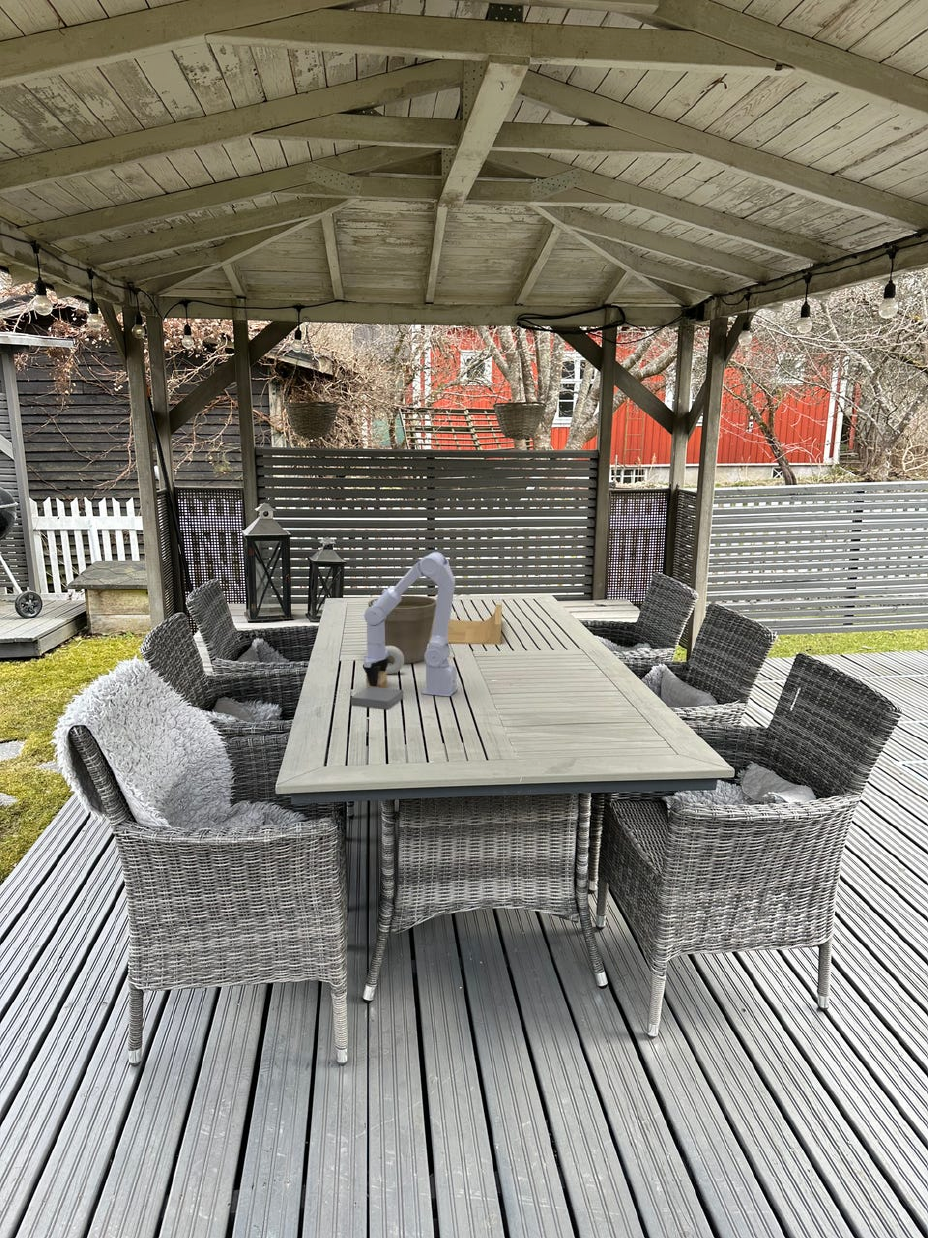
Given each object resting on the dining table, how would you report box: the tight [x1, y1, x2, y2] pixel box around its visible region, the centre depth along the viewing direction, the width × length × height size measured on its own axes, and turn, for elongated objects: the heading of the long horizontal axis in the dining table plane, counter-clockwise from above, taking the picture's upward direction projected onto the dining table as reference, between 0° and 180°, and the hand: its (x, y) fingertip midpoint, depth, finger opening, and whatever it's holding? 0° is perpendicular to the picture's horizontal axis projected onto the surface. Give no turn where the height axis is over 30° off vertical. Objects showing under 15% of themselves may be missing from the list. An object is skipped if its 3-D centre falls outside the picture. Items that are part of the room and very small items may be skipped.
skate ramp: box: [428, 597, 503, 646], centre depth 332 cm, size 40×35×16 cm
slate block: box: [350, 686, 405, 710], centre depth 242 cm, size 12×12×3 cm
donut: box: [385, 646, 405, 675], centre depth 270 cm, size 10×4×10 cm, turn 88°
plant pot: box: [367, 595, 437, 665], centre depth 289 cm, size 25×25×22 cm
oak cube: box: [365, 671, 388, 688], centre depth 255 cm, size 5×5×5 cm
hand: (376, 683), depth 256 cm, fingers closed on oak cube, 5 cm apart
